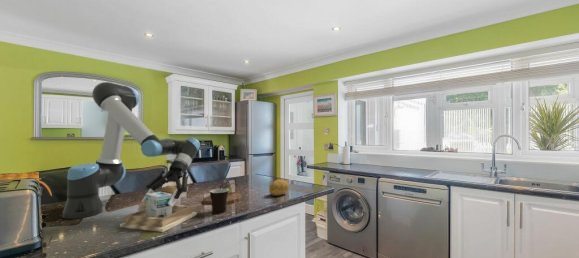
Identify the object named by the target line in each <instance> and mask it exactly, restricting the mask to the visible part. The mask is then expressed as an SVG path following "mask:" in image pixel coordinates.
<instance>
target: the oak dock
mask: <svg viewBox="0 0 579 258" xmlns="http://www.w3.org/2000/svg"><path fill="white" fill-rule="evenodd" d="M193 208H194V207H193V206H191V205H179V204H174V205H173V207H172V214H171V215H169V216H166V217H164V218H154V217H146V208H144V209H141V210H138V211H136V212H132V213H129V214H126V215H125V217H124V218H125V221H124V222H123V223H120V224H119V228H125V229H134V230H140V231H141V230H144V231H151V232H152V231H153V232H161V233H163V232H165V231H167V230H169V229H171V228H174V227H175V226H177V225H179V224H181V223H184V222H185V221H188V220H189V219H191V218H193V217H195V216H197V215H198V212H197V211H193Z"/></svg>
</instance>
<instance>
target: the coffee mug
mask: <svg viewBox="0 0 579 258" xmlns="http://www.w3.org/2000/svg"><path fill="white" fill-rule="evenodd" d="M228 192H229V191H228V189H227V188H225V189H220V188H218V189H216V188H215V189H211V190H209V195H210V196H211V204H210V205H211V211H212V213H213V214H223V213H226V212H227V207H228V206H227V205H228V204H227V199H228Z"/></svg>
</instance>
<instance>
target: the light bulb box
mask: <svg viewBox="0 0 579 258" xmlns="http://www.w3.org/2000/svg"><path fill="white" fill-rule="evenodd" d="M161 191H162V190H160V191H154V192H152V193H147V192H146V193H145V194H146V205H145V209H146V217H154V218H164V217H166V216H169V215H171V214H172V207H171V206H170V205H169V204H168V202H169V200H170V199H171V197H172V194H169V193H165V192H161Z"/></svg>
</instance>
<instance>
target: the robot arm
mask: <svg viewBox="0 0 579 258" xmlns="http://www.w3.org/2000/svg"><path fill="white" fill-rule="evenodd" d="M91 94H92V99H93V102H94V103H95V104H96V106H98V107H99V109H101V110H102V111H104V112H107V113H108V114H107V119H106V120H107V121H106V125H105V129H104V137H103V141H102V147H101V153H100V157H98V158H97V159H96V160H95V162H93V163H92V162H90V163H83V164H77V165H74V166H73V165H72V166H71V167H70V168H69V169H68V170H67V176H66V179H67V180H66V182H67V183H66V184H67V185H66V186H67V188H66V189H67V193H66V195H67V196H66V197H67V200H66V203H65V205H64V208H63V211H62V217H61V218H63V219H67V220H75V219H83V218H88V217H92V216H96V215H99V214H101V213H102V212H103V211H104V205H103V203H102V201H101V200H102V199H101V198H100V193H99V192H100V191H99V189H100V188H105V187H110V186H114V185H116V184H118V183H120V182H122V181H123V180H124V178H125V176H126V171H127V170H126V168H125V165H124V164H123V160H122V159H121V154H122V148H123V144H124V138H125V132H127V133H128V134H129V135H130V136H131V137H132V138H133V139H134V140H135V141H136V142H137V143H138V144H139V145H140V146H141V147H140V150H141V153H142V154H143V156H144V157H147V158H155V157H159V156H160V157H161V156H168V155H172V156H173V155H174V156H175V155H176V156H175V158H174V159H173V161H172V162H171V164H170V165H169V169H168V171H167V172H165V170H162V171H161V172H160V173H159V175H157V176H156V177H155V178H154V179H152V180H151V181H150V182H149V183H148V184H146V188H147V191H146V193H152V192H155V191H156V190H157V189H159V188H160V187H162V186H163V185H165V184H168V183H175V187H176V188H177V190H178V191H177V190H175V192H174V193H173V195H172V197H171V199H170V200H169V202H168V204H169V205H170V206H171V207H173V205H175V203H176V201H177V200H178V199H179V198H180V196H181V195H182V194H183V193H187V192H188V179H189V176H190V175H189V174H188V172H187V171H188V168H189V167H190V165H191V164H192V162H193V159H194V158H195V156H196V155H197V153H198V151H199V149H200V147H201V142H200V141H199V140H198V139H197V138H195V137H188V138H187V139H186V140H177V139H172V138H164V137H163V138H162V139H159V137H157V136H156V135H155V133H153V132H152V131H151V130H150V129H149V127H147V126H146V124H144V123H143V122H142V121H141V120H140V118H138V116H136V115H135V113H133V109H134V108H136V107H137V105H139V103H140V99H139V98H140V97H139V94H138V93H137V91H136V90H135V89H133V88H132V87H129V86H127V85H122V84H118V83H113V82H110V81H108V82H107V81H106V82H100V83H98V84H96V85H95V86H94V88H93V89H92V93H91ZM146 193H145V195H144V197H143V198H142V200H141V203H143V204H144V205H145V206H146Z"/></svg>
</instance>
